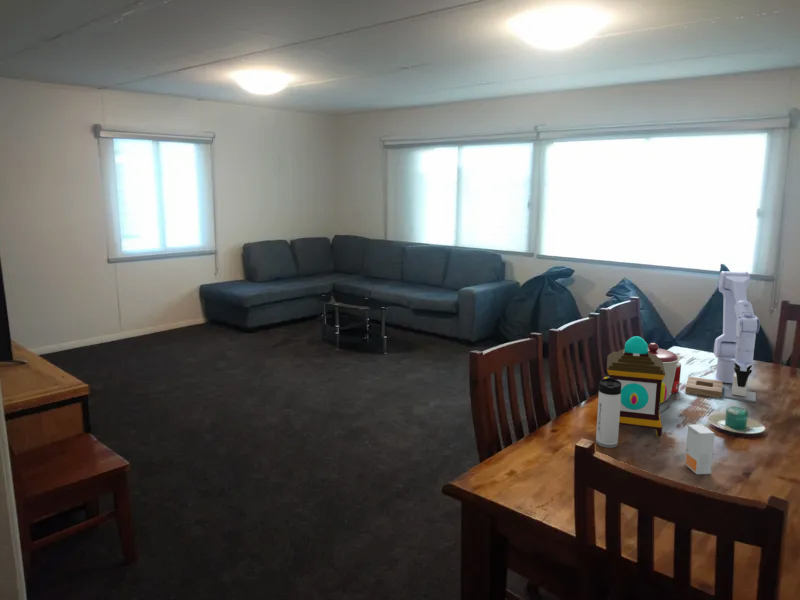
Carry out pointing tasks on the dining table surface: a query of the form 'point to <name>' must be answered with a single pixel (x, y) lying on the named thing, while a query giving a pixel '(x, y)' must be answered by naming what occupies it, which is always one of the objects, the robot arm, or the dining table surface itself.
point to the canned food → (676, 379)
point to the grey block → (738, 390)
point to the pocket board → (704, 387)
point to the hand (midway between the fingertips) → (741, 384)
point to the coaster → (749, 395)
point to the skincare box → (699, 449)
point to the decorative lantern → (638, 384)
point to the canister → (666, 365)
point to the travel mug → (608, 413)
